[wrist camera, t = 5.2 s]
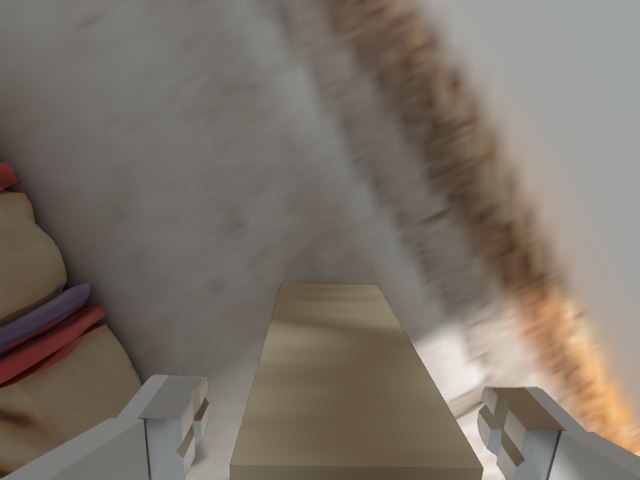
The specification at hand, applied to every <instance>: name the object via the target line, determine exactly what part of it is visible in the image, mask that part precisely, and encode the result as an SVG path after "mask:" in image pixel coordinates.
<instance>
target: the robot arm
mask: <svg viewBox="0 0 640 480" xmlns="http://www.w3.org/2000/svg"><path fill="white" fill-rule="evenodd" d="M208 390H209V389H208V379H207V378H206V377H195V376H177V375H172V376H170V375H153V376H150V377H149V378H148V380H147V381H146V382H145V383H144V384H143V386H142V387H141V388H140V389H139V391H138V392H137V393H136V394H135V395H134V397H133V398H132V399H131V400H130V401H129V403H128V404H127V405H126V406H125V408H124V409H123V410H122V411H121V412H120V414H119V415H118V416H117V417H116V418H109V419H107V420H105V421H104V422H102V423H100V424H98V425H96V426H95V427H93V428H91V429H89V430H88V431H86V432H84V433H82V434H80V435H79V436H77V437H75V438H73V439H71V440H70V441H68V442H66V443H64V444H62V445H61V446H59V447H57V448H55V449H53V450H52V451H50V452H48V453H46V454H44V455H43V456H41V457H39V458H37V459H35V460H34V461H32V462H30V463H28V464H27V465H25V466H23V467H21V468H19V469H18V470H16V471H14V472H12V473H10V474H9V475H7V476H5V477H3V478H1V479H0V480H185V478H186V476H187V474H188V471H189V469H190V467H191V465H192V462H193V460H194V458H195V446H196V445H197V444H198V443H200V442H201V441H202V439H203V436H204V434H205V431H206V427H207V423H208V419H209V402H208V401H207V400H206V399H205V396H206V394H207V392H208ZM481 399H482V401H483V402H484V404H485V405H484V406H483V407H482V408H481V409H480V410H479V412H478V419H477V424H478V430H479V434H480V437H481V439H482V441H483V443H484V445H485V446H486V448H487V449H488V450H489V451H491V452H492V453H493V454H495V455H496V456H497V463H496V464H497V466H498V467H499V469H500V470H501V472H502V474H503V475H504V477H505V478H506V480H640V457H639V456H637V455H635V454H633V453H631V452H630V451H628V450H626V449H624V448H622V447H620V446H618V445H616V444H615V443H613V442H611V441H609V440H607V439H605V438H603V437H601V436H599V435H598V434H596V433H594V432H587V431H586V430H585V429H584V428H583V427H582V426H581V425H579V424H578V423H577V422H576V421H575V420H574V419H573V418H572V417H571V416H570V415H569V414H568V413H567V412H566V411H565V410H564V409H563V408H562V407H560V406H559V405H558V404H557V403H556V402H555V401H554V400H553V399H552V398H551V397H550V396H549V395H548V394H547V393H546V392H545V391H544V390H542V389H540V388H538V387H488V386H486V387H485V388H484V390H483V391H482V396H481Z"/></svg>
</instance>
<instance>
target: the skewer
mask: <svg viewBox="0 0 640 480" xmlns="http://www.w3.org/2000/svg"><path fill="white" fill-rule="evenodd" d="M16 183H18V181H17V177H16V174H15V172H14V170H13V169H12V167H11V166H10V165H9V164H8V163H0V479H1V478H3V477H5V476H7V475H9V474H10V473H12V472H14V471H16V470H18V469H19V468H21V467H23V466H25V465H27V464H28V463H30V462H32V461H34V460H35V459H37V458H39V457H41V456H43V455H44V454H46V453H48V452H50V451H52V450H53V449H55V448H57V447H59V446H61V445H62V444H64V443H66V442H68V441H70V440H71V439H73V438H75V437H77V436H79V435H80V434H82V433H84V432H86V431H88V430H89V429H91V428H93V427H95V426H96V425H98V424H100V423H102V422H104V421H105V420H107V419H109V418H116V417H117V416H118V415H119V414H120V412H121V411H122V410H123V409H124V408H125V406H126V405H127V404H128V403H129V401H130V400H131V399H132V398H133V397H134V395H135V394H136V393H137V392H138V391H139V389H140V388H141V387H142V385H141V382H140V379H139V377H138V375H137V373H136V371H135V369H134V367H133V365H132V363H131V361H130V359H129V357H128V355H127V354H126V352H125V350H124V348H123V347H122V346H121V344H120V343H119V341H118V340H117V339H116V337H115V336H114V334H113V333H112V332H111V330H110V329H109V328H108V326H107V325H100V326H95V327H90V326H91V325H93V324H94V323H96V322H97V321H99V320H101V319H102V318H103V317H105V316H106V315H105V314H104V312H103V309H102V305H96V306H90V307H84V308H83V306H84V304H85V302H86V300H87V299H88V297H89V295H90V293H91V288H90V284H89V282H85V283H82V284H80V285H77V286H75V287H72V288H70V289H68V290H65V291H63V292H62V290H63V288H64V286H65V284H66V282H67V276H66V270H65V265H64V262H63V259H62V256H61V253H60V250H59V248H58V247H57V246H56V244H55V243H54V241H53V240H52V238H51V237H50V236H49V235H48V234H46V233H45V232H44V231H43V230H42V229H41V228H40V227H39V226H37V225H36V224H35V218H34V213H33V207H32V204H31V203H30V201H29V200H28V198H27V196H26V195H25V193H20V192H9V191H4V188H7V187H9V186H11V185H14V184H16ZM88 327H89V328H88Z"/></svg>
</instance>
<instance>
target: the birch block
mask: <svg viewBox="0 0 640 480" xmlns="http://www.w3.org/2000/svg"><path fill="white" fill-rule="evenodd" d="M483 469H484V468H483V466H482V464H481V463H480V461H479V459H478V458H477V456H476V454H475V452H474V451H473V449H472V447H471V445H470V444H469V442H468V440H467V438H466V437H465V435H464V433H463V432H462V430H461V428H460V426H459V425H458V423H457V421H456V419H455V418H454V416H453V414H452V412H451V411H450V409H449V407H448V406H447V404H446V402H445V400H444V399H443V397H442V395H441V393H440V392H439V390H438V388H437V387H436V385H435V383H434V381H433V380H432V378H431V376H430V374H429V373H428V371H427V369H426V367H425V366H424V364H423V362H422V361H421V359H420V357H419V355H418V354H417V352H416V350H415V348H414V347H413V345H412V343H411V341H410V340H409V338H408V336H407V335H406V333H405V331H404V329H403V328H402V326H401V324H400V322H399V321H398V319H397V317H396V315H395V314H394V312H393V310H392V309H391V307H390V305H389V303H388V302H387V300H386V298H385V296H384V295H383V293H382V291H381V290H380V288H379V286H378V285H365V284H335V283H305V282H282V284H281V287H280V291H279V294H278V298H277V301H276V305H275V308H274V312H273V315H272V319H271V322H270V326H269V329H268V333H267V336H266V340H265V343H264V347H263V350H262V354H261V357H260V361H259V364H258V368H257V371H256V374H255V378H254V381H253V385H252V388H251V392H250V395H249V399H248V402H247V406H246V409H245V413H244V416H243V420H242V423H241V427H240V430H239V434H238V437H237V441H236V444H235V448H234V451H233V455H232V458H231V462H230V480H481V479H482V474H483Z"/></svg>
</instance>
